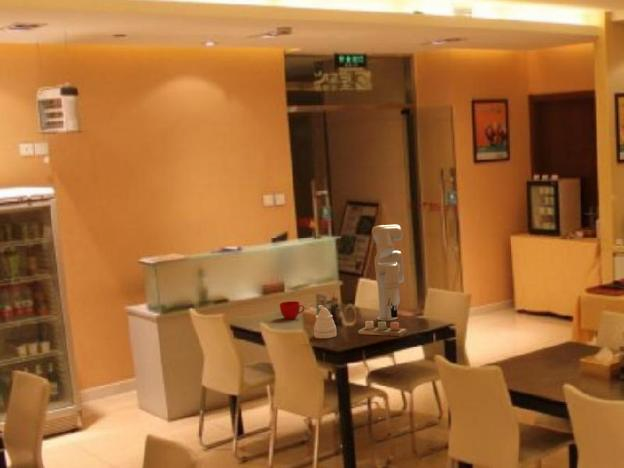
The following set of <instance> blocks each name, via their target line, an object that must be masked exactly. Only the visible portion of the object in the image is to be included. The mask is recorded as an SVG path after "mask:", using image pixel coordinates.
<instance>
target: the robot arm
mask: <svg viewBox="0 0 624 468" xmlns="http://www.w3.org/2000/svg"><path fill="white" fill-rule="evenodd" d="M371 233H372V234H371V235H372V237H373V239H374V242H375V245H376V254H375V257H374V268H375V269H374V270H375V279H376V283H377V289H378V290H377V292H378V293H377V294H378V309H379V313H378V314H379V316H377V317H376V318H377V320H378V321H381V322H389V321H395V320H397V319H398V306H399V304H400V303H401V297H400V284H401V283H403V282H404V281H405V268H404V267H405V266H404V256H403V253H402V251H400V250H395V249H396V248H395V242H396V241H397V242H398V241H400V242H401V241H402V240H403V238H404V232H403V229H402V227H401V226H400V225H399V224H385V225H384V224H380V225H376V226H373V227H372V229H371Z"/></svg>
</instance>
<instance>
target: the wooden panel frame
mask: <svg viewBox="0 0 624 468" xmlns="http://www.w3.org/2000/svg"><path fill="white" fill-rule="evenodd" d="M407 331H408V330H407V328H399V330H397V331H392V330H391V327H386V330H378V326H377V327H376V326H374V329H366V326H364V327H362V328H360V329H359V330H358V332H357V333H358V335H373V336H374V335H375V336H389V335H390V336H391V337H394V336H395V337H401V336H403V335H404V334H406V333H407Z"/></svg>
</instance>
